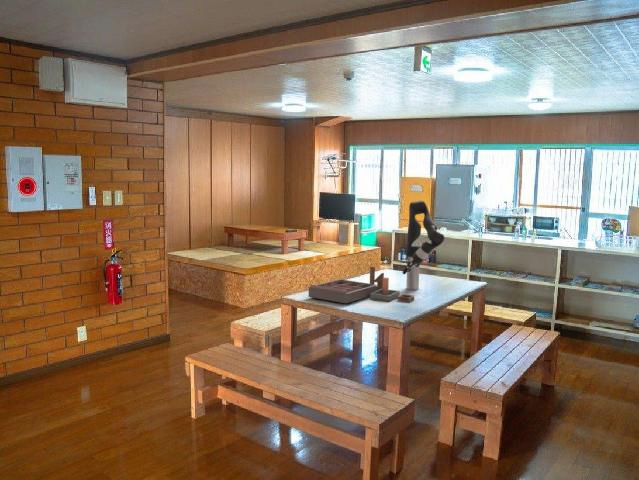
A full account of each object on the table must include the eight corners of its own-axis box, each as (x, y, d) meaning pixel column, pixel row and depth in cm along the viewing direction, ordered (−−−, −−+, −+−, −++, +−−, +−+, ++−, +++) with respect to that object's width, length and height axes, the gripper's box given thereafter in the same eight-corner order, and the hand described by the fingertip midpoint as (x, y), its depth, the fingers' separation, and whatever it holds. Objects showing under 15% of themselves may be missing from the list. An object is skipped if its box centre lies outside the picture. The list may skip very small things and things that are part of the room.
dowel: (383, 295, 370) (384, 277, 369) (389, 296, 368) (389, 277, 367) (381, 296, 366) (382, 278, 365) (386, 297, 365) (387, 278, 363)
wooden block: (381, 292, 385) (381, 268, 383) (368, 290, 391) (368, 266, 389) (383, 291, 388) (384, 267, 386) (370, 290, 394) (371, 265, 392)
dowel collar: (401, 298, 366) (402, 294, 366) (414, 300, 362) (414, 295, 362) (397, 300, 359) (397, 296, 358) (410, 302, 355) (410, 298, 354)
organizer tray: (377, 296, 375) (378, 282, 374) (346, 306, 343) (346, 290, 341) (340, 289, 393) (340, 276, 392) (306, 298, 361) (307, 284, 360)
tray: (380, 294, 379) (381, 288, 379) (399, 296, 373) (399, 290, 373) (370, 299, 362) (370, 293, 361) (389, 301, 355) (389, 296, 355)
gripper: (419, 249, 361) (404, 266, 368) (413, 252, 349) (397, 270, 355) (427, 257, 359) (412, 274, 366) (421, 260, 347) (405, 278, 353)
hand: (405, 272), depth 361 cm, fingers open, 8 cm apart
